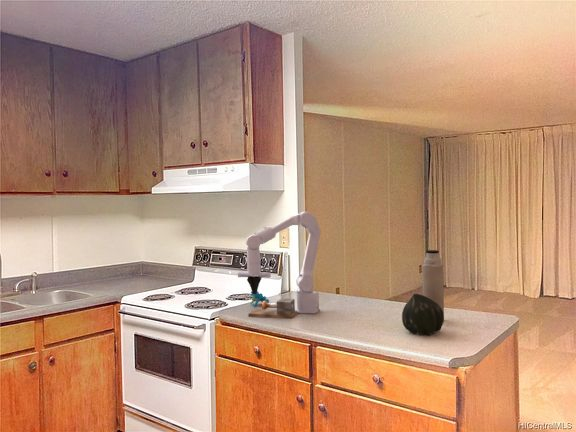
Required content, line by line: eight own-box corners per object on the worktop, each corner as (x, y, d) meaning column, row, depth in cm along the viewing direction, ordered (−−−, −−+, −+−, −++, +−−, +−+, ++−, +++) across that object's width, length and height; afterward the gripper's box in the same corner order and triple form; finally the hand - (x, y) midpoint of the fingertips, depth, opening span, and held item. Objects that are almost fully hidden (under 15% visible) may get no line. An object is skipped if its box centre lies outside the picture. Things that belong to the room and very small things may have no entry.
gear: (273, 302, 221) (259, 289, 218) (267, 312, 218) (252, 299, 215) (261, 301, 230) (247, 289, 227) (255, 311, 228) (240, 299, 224)
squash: (457, 317, 171) (430, 284, 177) (440, 328, 160) (411, 292, 165) (430, 337, 178) (405, 305, 184) (412, 349, 167) (386, 314, 173)
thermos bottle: (425, 317, 194) (424, 249, 193) (446, 319, 189) (445, 249, 188) (420, 321, 187) (419, 251, 186) (441, 323, 183) (440, 251, 182)
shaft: (293, 309, 203) (293, 301, 203) (291, 311, 200) (291, 303, 199) (264, 308, 207) (264, 300, 207) (262, 310, 203) (261, 302, 203)
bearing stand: (297, 313, 205) (297, 298, 205) (292, 318, 197) (291, 302, 197) (255, 311, 211) (255, 297, 211) (248, 316, 202) (247, 301, 202)
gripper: (234, 263, 203) (235, 295, 204) (266, 264, 199) (267, 296, 200) (240, 261, 210) (241, 292, 211) (271, 261, 206) (272, 292, 207)
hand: (254, 293), depth 206 cm, fingers closed
